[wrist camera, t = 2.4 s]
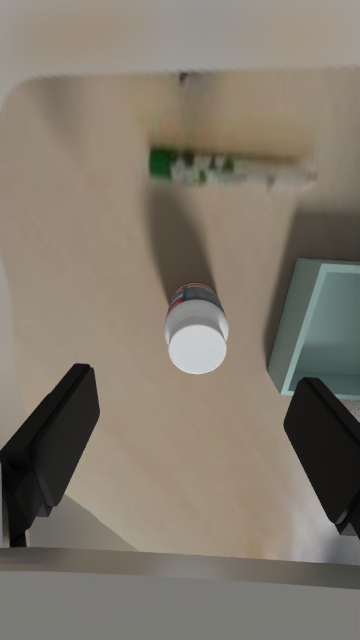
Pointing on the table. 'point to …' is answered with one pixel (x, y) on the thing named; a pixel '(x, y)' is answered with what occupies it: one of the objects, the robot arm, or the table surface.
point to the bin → (320, 328)
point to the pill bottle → (196, 329)
